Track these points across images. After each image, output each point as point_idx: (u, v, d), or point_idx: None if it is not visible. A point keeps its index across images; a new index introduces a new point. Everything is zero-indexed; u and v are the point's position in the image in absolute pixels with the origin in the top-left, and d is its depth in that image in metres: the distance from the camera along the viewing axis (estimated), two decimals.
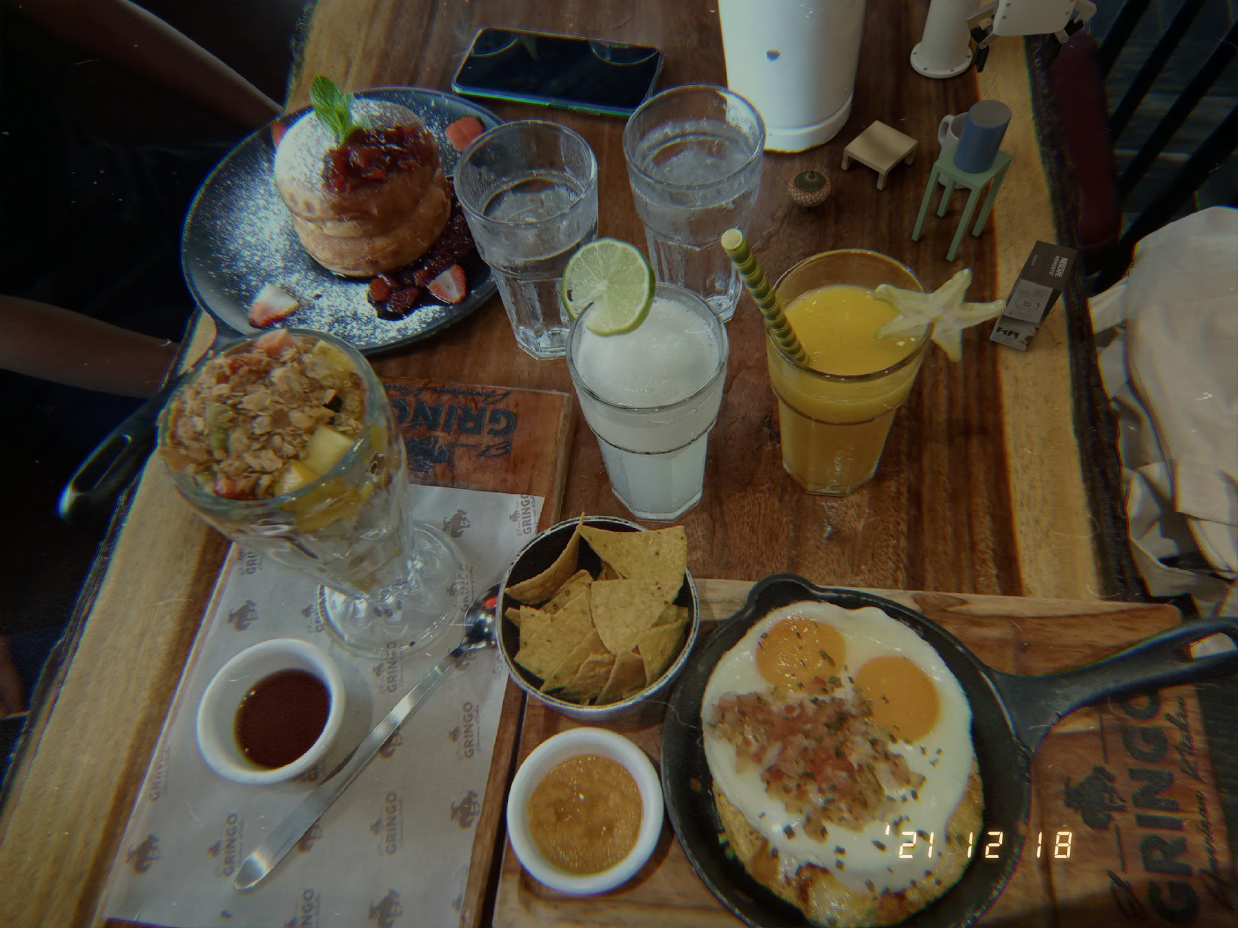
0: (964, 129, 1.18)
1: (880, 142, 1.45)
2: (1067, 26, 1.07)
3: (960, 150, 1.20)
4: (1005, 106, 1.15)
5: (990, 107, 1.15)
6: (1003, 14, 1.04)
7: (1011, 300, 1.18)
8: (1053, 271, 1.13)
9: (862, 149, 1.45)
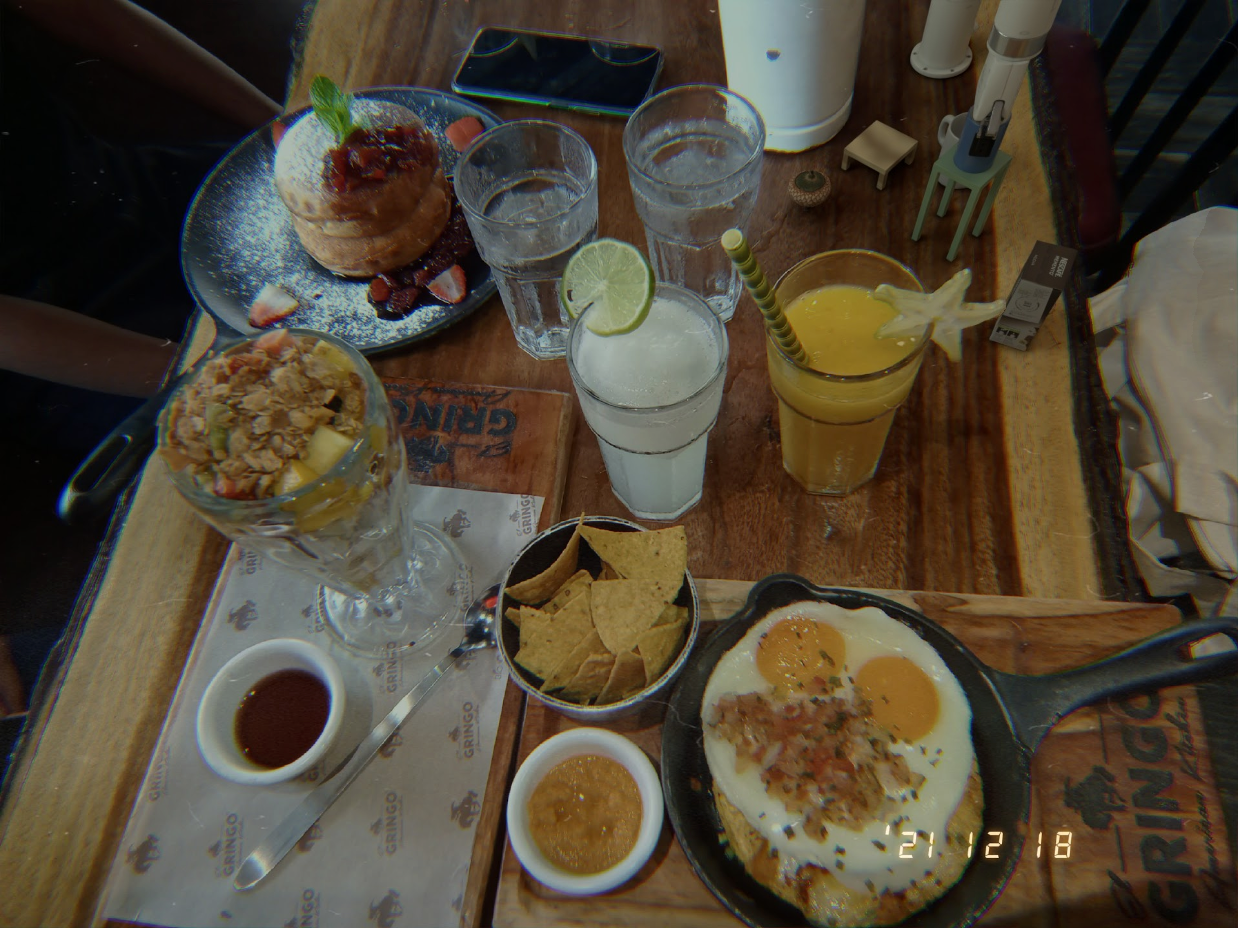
0: (964, 129, 1.18)
1: (880, 142, 1.45)
2: None
3: (960, 150, 1.20)
4: None
5: None
6: (1013, 103, 1.08)
7: (1011, 300, 1.18)
8: (1053, 271, 1.13)
9: (862, 149, 1.45)
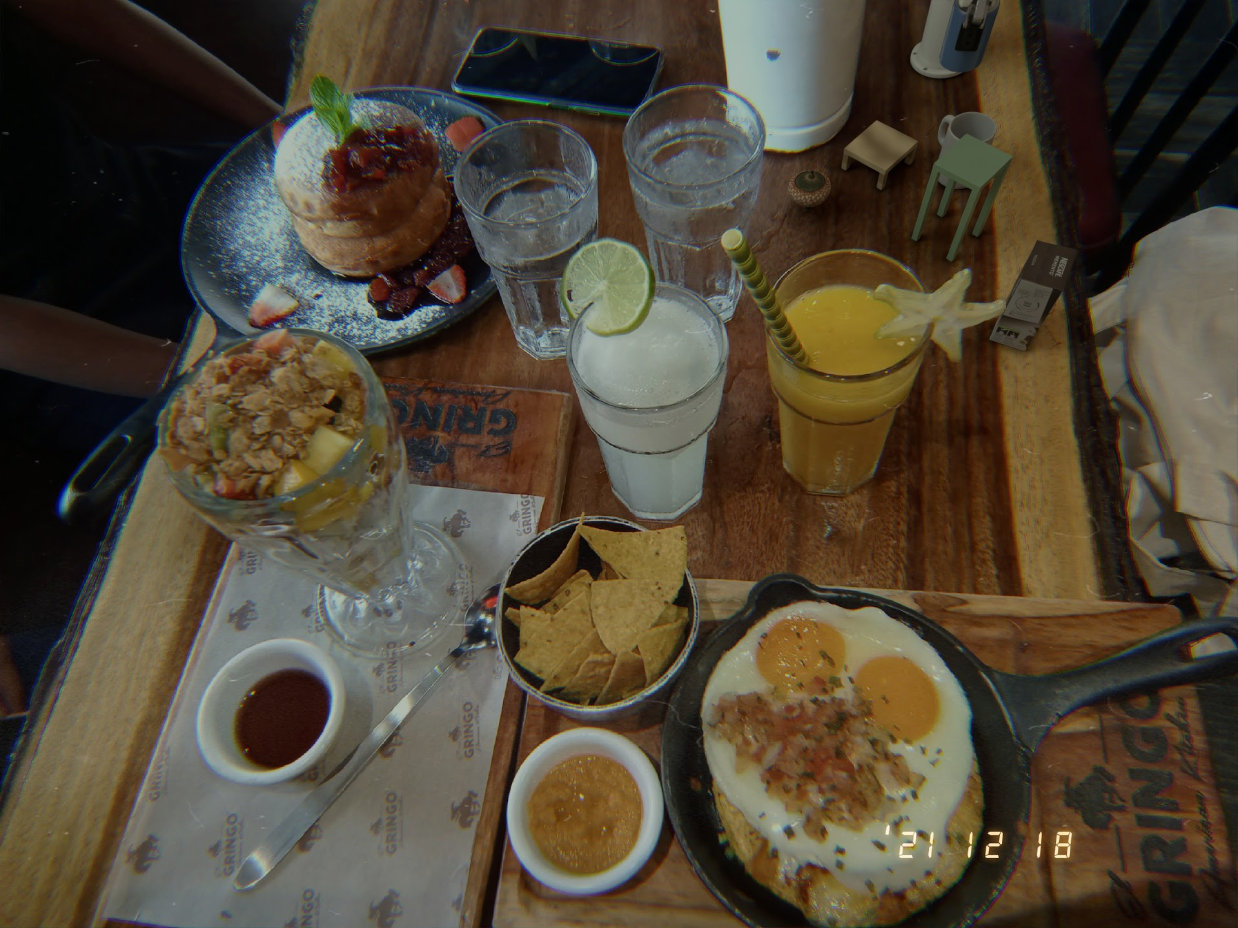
0: (950, 22, 1.10)
1: (880, 142, 1.45)
2: None
3: (946, 46, 1.13)
4: None
5: None
6: None
7: (1011, 300, 1.18)
8: (1053, 271, 1.13)
9: (862, 149, 1.45)
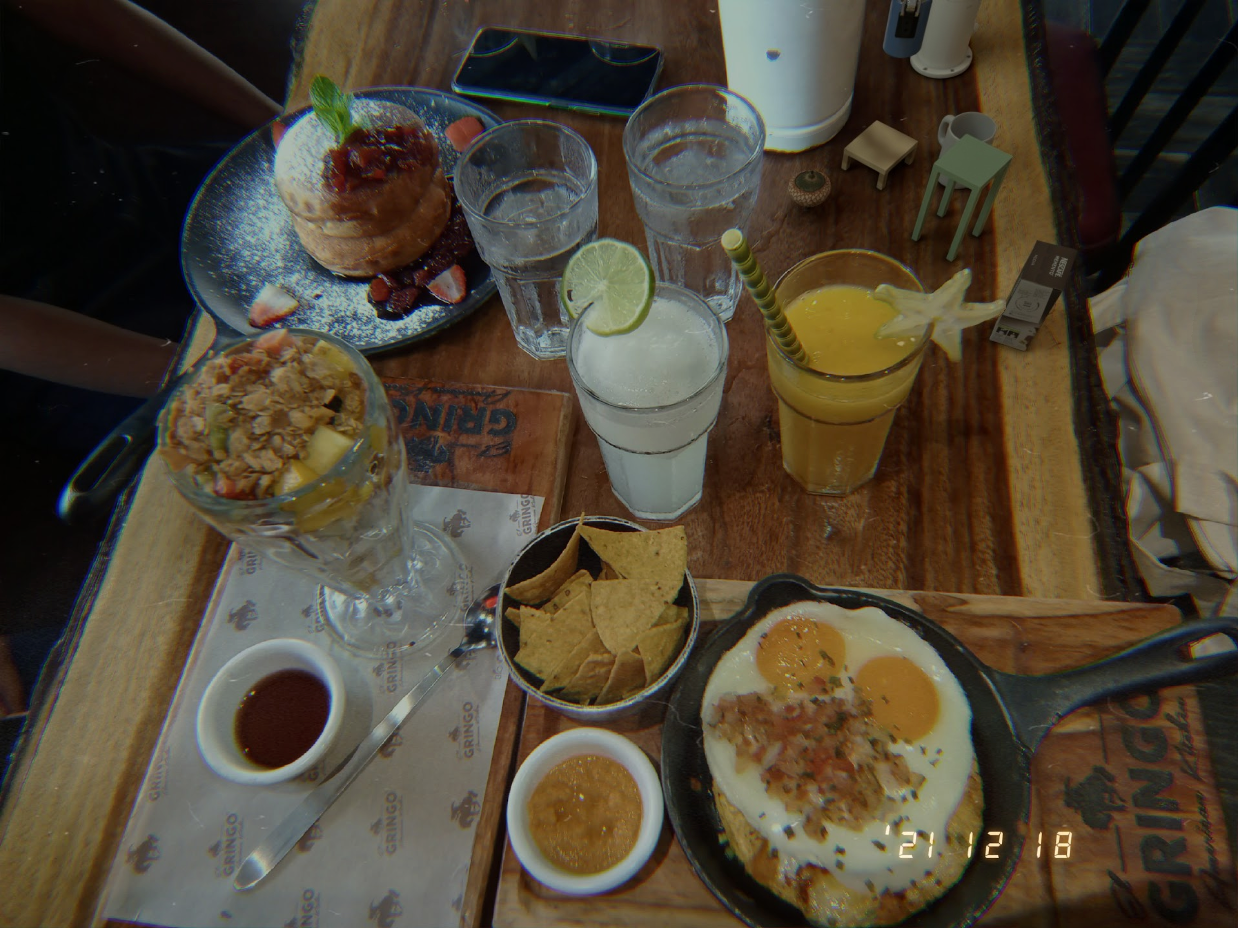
0: (890, 11, 1.21)
1: (880, 142, 1.45)
2: None
3: (888, 33, 1.23)
4: None
5: None
6: None
7: (1011, 300, 1.18)
8: (1053, 271, 1.13)
9: (862, 149, 1.45)
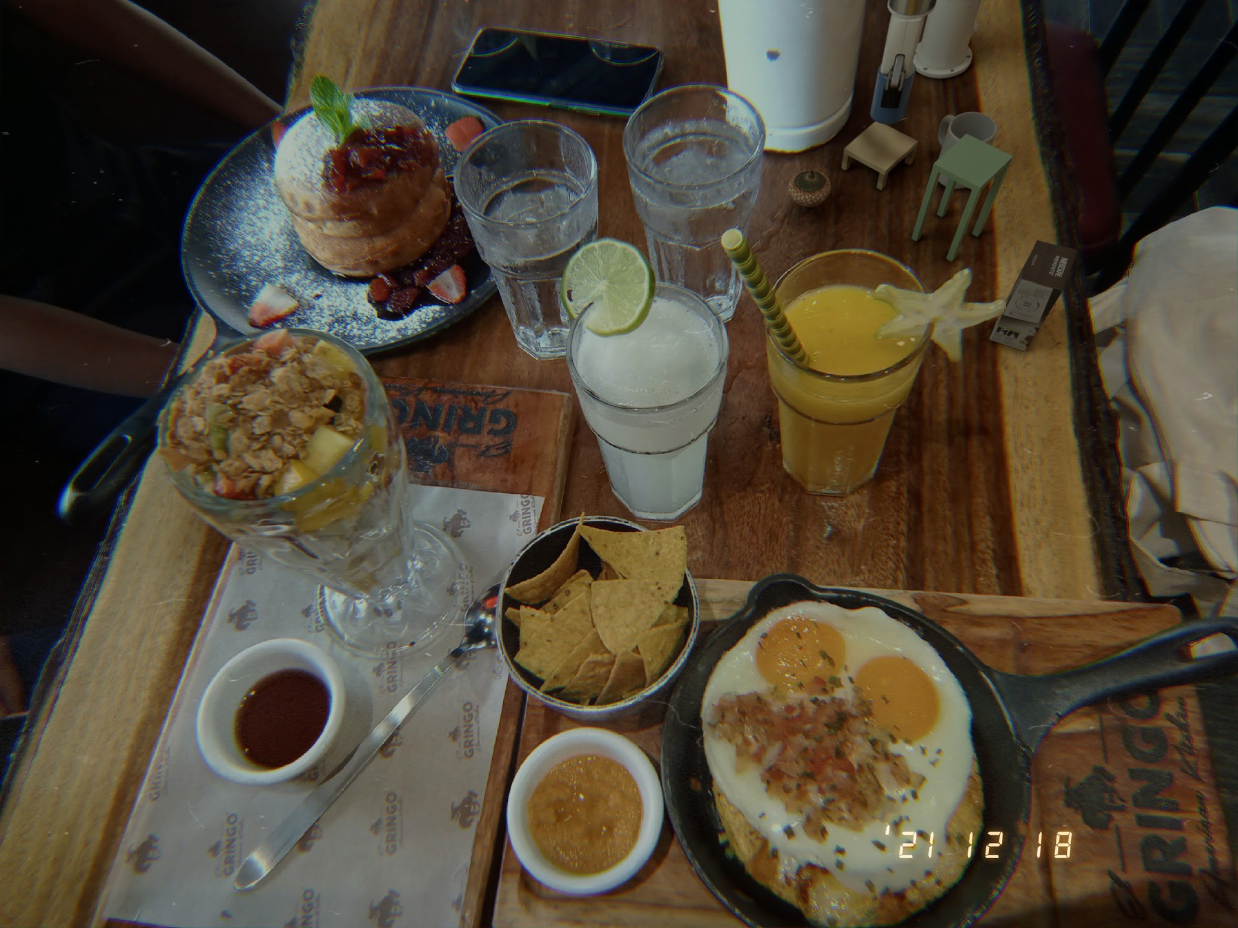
0: (876, 83, 1.33)
1: (880, 142, 1.45)
2: None
3: (874, 103, 1.35)
4: None
5: None
6: (912, 57, 1.23)
7: (1011, 300, 1.18)
8: (1053, 271, 1.13)
9: (862, 149, 1.45)
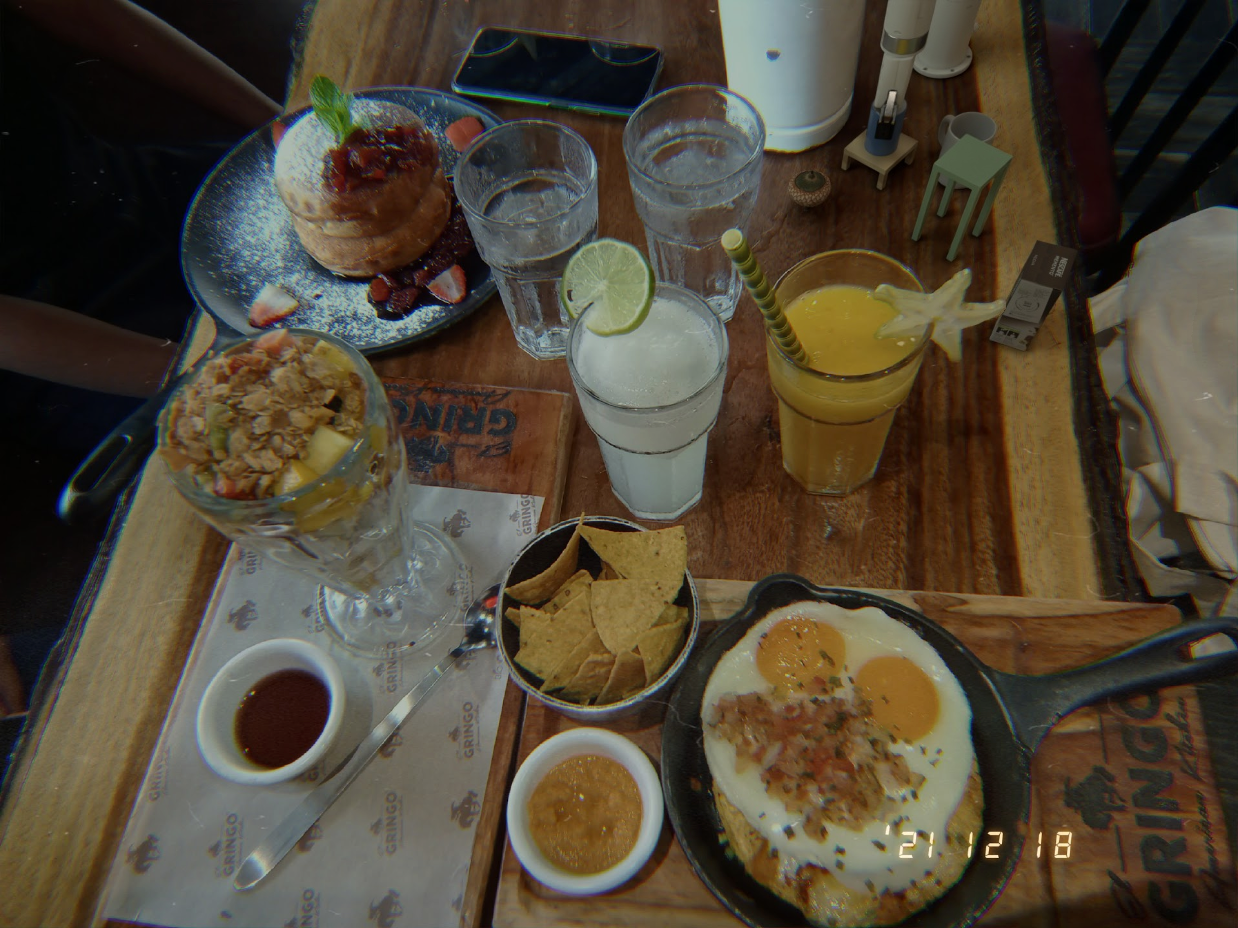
0: (869, 118, 1.39)
1: None
2: None
3: (868, 136, 1.42)
4: None
5: None
6: (904, 92, 1.29)
7: (1011, 300, 1.18)
8: (1053, 271, 1.13)
9: (862, 149, 1.45)
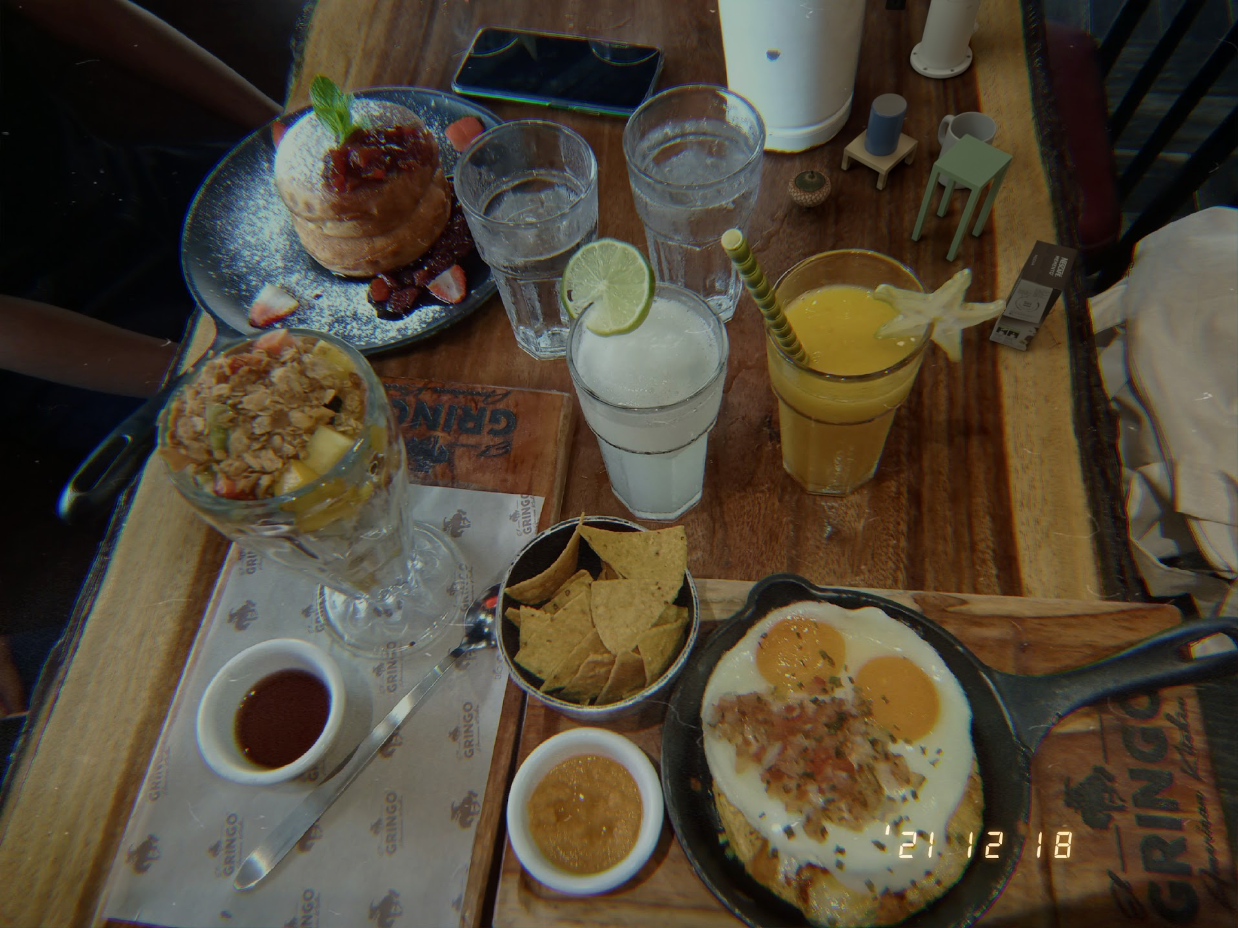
0: (869, 118, 1.39)
1: None
2: None
3: (868, 136, 1.42)
4: (902, 99, 1.37)
5: (890, 100, 1.37)
6: None
7: (1011, 300, 1.18)
8: (1053, 271, 1.13)
9: (862, 149, 1.45)
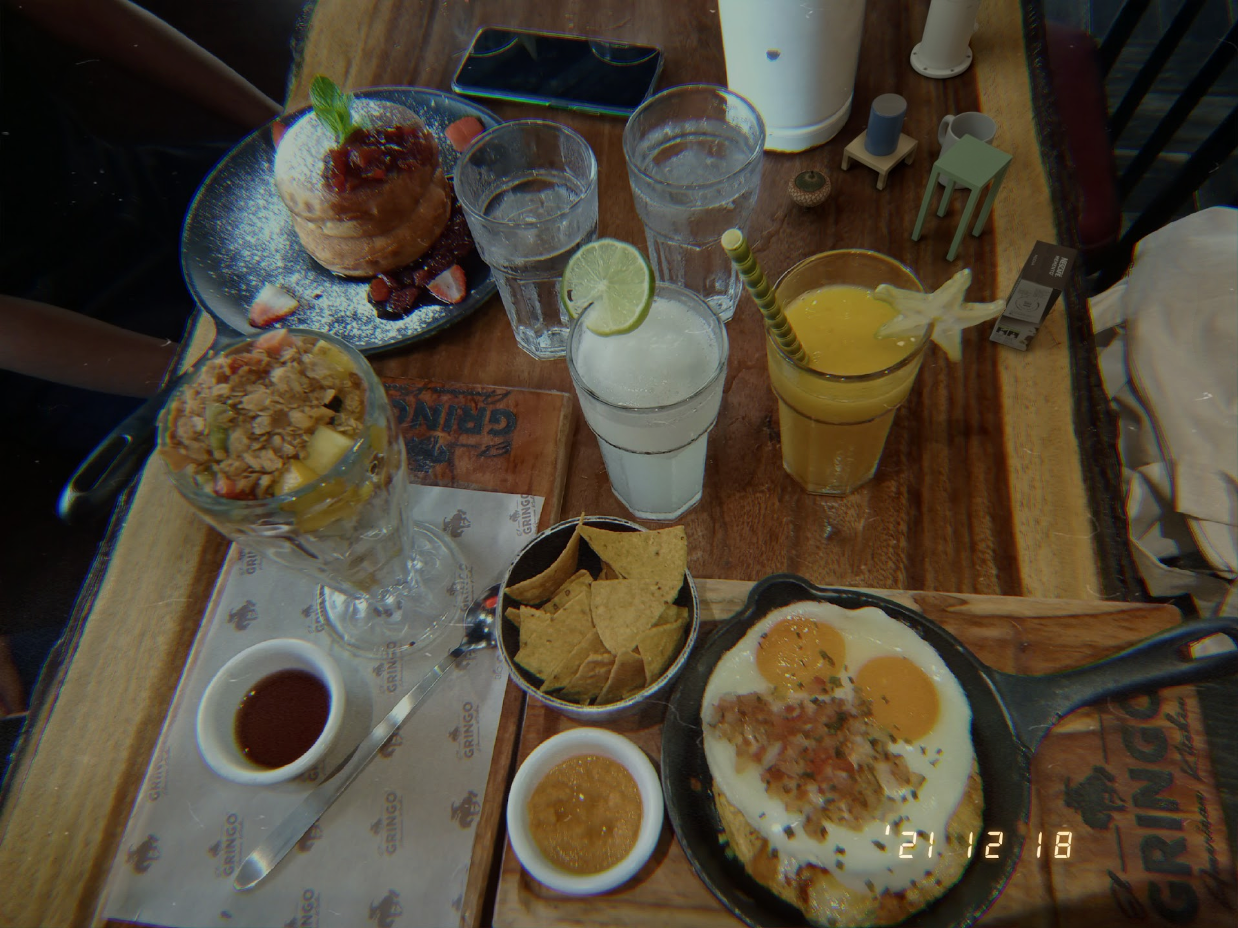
0: (869, 118, 1.39)
1: None
2: None
3: (868, 136, 1.42)
4: (902, 99, 1.37)
5: (890, 100, 1.37)
6: None
7: (1011, 300, 1.18)
8: (1053, 271, 1.13)
9: (862, 149, 1.45)
